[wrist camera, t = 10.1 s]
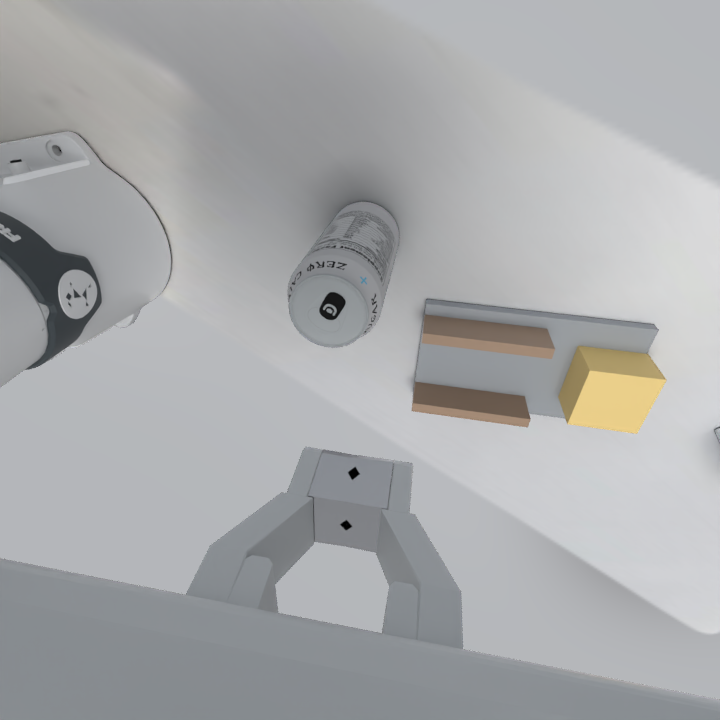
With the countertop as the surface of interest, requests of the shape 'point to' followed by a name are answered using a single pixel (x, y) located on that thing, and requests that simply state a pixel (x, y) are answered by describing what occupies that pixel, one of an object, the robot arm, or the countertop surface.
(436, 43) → the countertop surface
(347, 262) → the energy drink can
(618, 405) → the ochre block
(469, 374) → the chute
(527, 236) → the countertop surface
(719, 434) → the skincare box
